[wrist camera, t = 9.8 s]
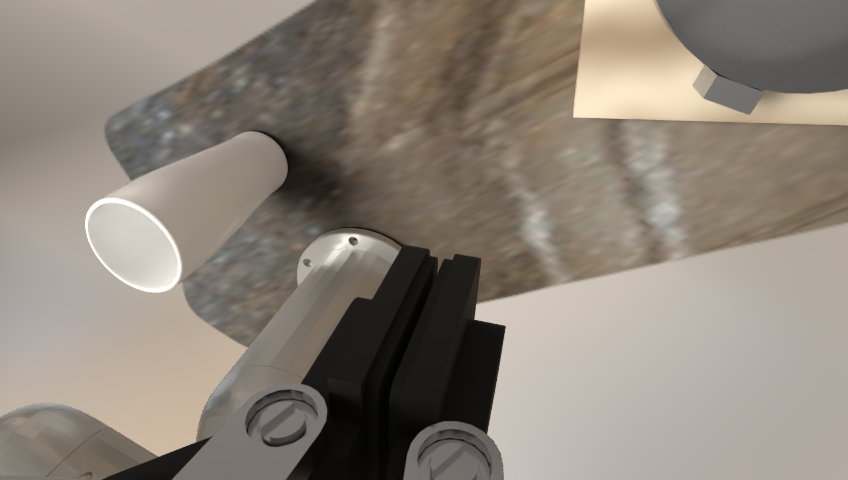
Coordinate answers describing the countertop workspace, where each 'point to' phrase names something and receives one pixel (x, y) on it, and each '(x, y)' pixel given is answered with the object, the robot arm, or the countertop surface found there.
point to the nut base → (667, 75)
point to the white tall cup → (183, 211)
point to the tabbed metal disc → (762, 46)
